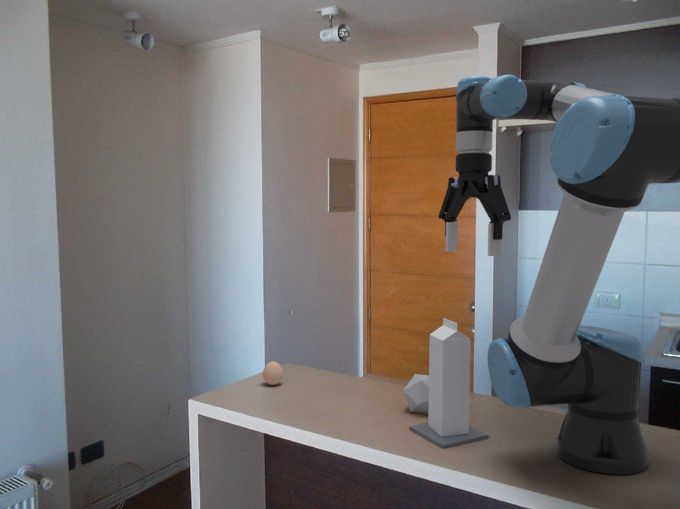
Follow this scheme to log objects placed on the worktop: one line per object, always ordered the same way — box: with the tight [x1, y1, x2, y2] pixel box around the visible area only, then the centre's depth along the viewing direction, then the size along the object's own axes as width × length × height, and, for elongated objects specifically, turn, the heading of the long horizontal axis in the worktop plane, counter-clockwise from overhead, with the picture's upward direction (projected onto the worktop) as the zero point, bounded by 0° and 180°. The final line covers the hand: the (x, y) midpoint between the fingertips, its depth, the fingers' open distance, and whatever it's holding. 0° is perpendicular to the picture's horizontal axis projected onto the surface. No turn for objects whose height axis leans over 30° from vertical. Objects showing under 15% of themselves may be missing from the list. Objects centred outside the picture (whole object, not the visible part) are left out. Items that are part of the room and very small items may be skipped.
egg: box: [262, 361, 284, 386], centre depth 154 cm, size 5×5×6 cm
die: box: [402, 373, 429, 415], centre depth 134 cm, size 8×9×10 cm
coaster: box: [408, 422, 489, 449], centre depth 121 cm, size 11×11×1 cm
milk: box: [427, 317, 472, 437], centre depth 120 cm, size 6×6×22 cm
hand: (471, 253), depth 131 cm, fingers open, 13 cm apart
